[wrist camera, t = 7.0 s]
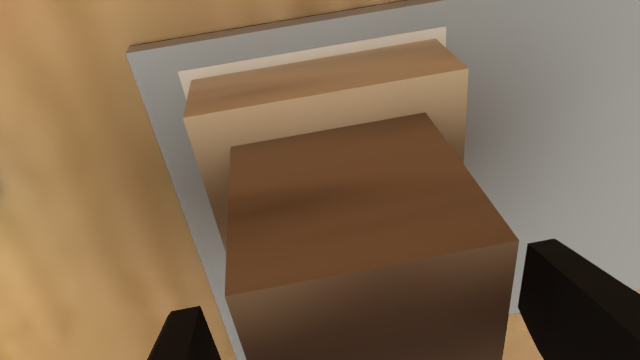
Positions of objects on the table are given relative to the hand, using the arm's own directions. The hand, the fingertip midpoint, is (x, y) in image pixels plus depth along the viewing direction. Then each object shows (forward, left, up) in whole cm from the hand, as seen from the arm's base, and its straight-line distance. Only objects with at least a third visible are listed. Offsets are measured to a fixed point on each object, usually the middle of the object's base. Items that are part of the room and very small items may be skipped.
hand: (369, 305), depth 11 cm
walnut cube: (0, 0, -4) cm, 4 cm away
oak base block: (0, 0, -6) cm, 6 cm away
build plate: (-2, -5, -7) cm, 9 cm away
